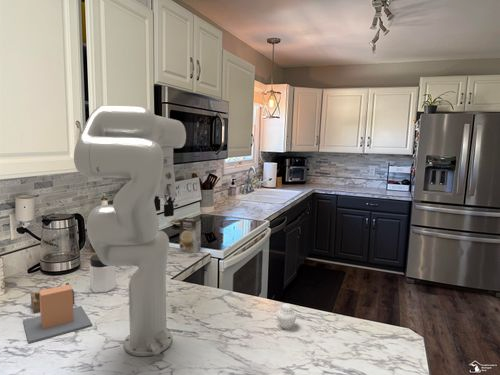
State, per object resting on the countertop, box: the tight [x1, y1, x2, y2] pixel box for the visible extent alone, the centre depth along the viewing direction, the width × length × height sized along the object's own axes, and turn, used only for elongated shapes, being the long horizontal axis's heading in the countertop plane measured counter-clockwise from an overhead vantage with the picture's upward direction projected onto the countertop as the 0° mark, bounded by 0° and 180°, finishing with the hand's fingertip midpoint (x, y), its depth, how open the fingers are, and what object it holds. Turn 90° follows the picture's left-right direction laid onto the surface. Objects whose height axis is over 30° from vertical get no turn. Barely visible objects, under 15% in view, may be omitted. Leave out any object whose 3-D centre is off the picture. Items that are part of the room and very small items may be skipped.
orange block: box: [38, 284, 74, 329], centre depth 104 cm, size 4×8×10 cm, turn 127°
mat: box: [22, 305, 93, 344], centre depth 104 cm, size 14×16×1 cm
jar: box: [88, 254, 117, 294], centre depth 129 cm, size 9×8×12 cm
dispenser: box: [30, 282, 75, 314], centre depth 117 cm, size 8×12×5 cm
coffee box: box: [179, 216, 202, 254], centre depth 176 cm, size 9×6×16 cm
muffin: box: [275, 303, 298, 330], centre depth 106 cm, size 6×6×7 cm
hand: (162, 213), depth 118 cm, fingers open, 9 cm apart
